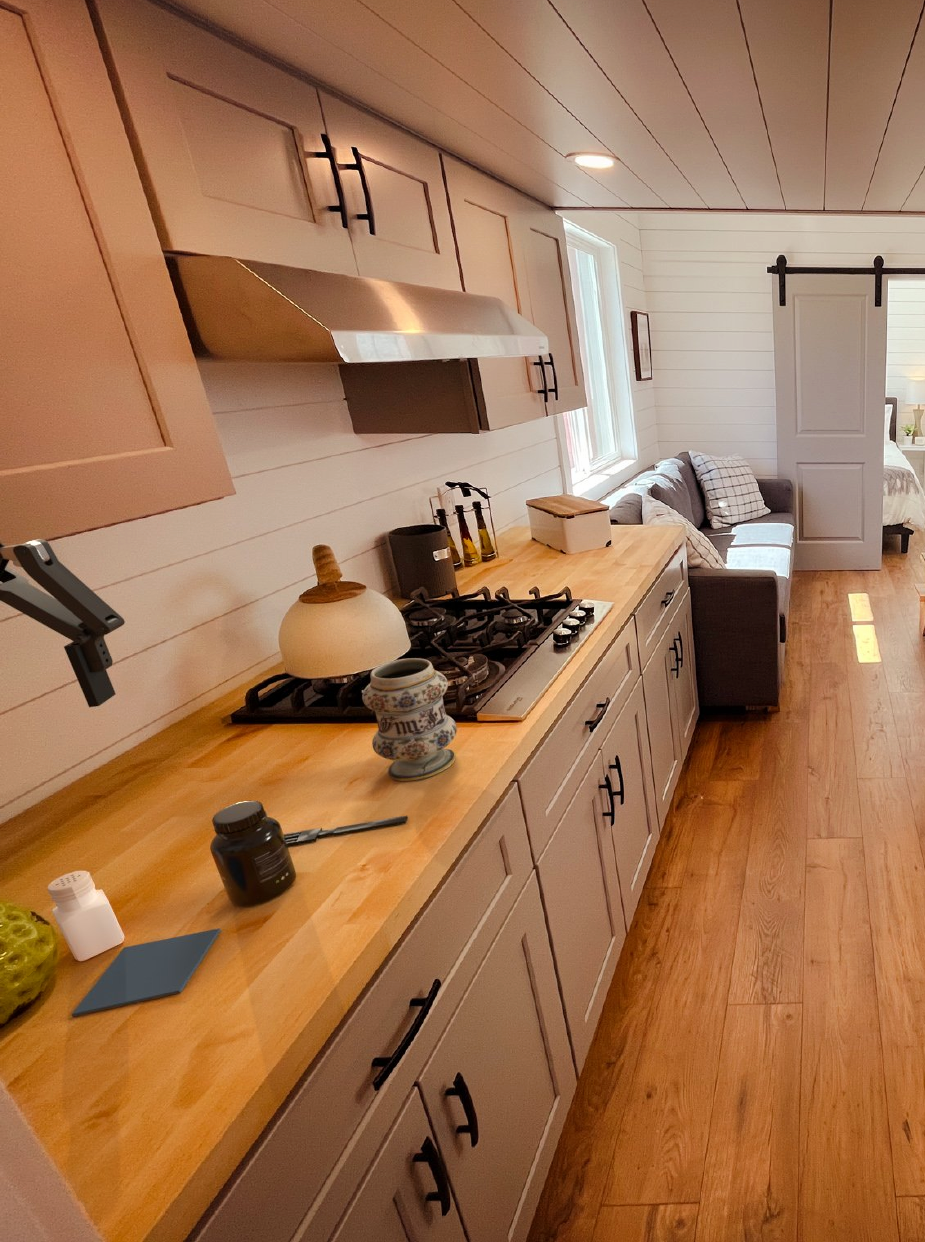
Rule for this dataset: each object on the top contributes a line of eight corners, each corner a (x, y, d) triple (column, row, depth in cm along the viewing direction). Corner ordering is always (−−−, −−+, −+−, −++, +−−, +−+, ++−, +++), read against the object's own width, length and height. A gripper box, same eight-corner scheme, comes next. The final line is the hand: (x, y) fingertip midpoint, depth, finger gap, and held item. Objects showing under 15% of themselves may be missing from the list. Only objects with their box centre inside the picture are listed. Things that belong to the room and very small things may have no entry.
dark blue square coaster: (72, 1017, 70) (70, 1014, 70) (125, 949, 78) (124, 947, 78) (180, 993, 73) (179, 990, 72) (220, 930, 81) (219, 928, 80)
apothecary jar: (479, 751, 118) (460, 657, 112) (423, 790, 107) (399, 689, 101) (421, 741, 121) (400, 649, 115) (362, 779, 110) (335, 679, 104)
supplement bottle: (215, 905, 84) (183, 826, 80) (265, 867, 91) (239, 792, 86) (263, 911, 83) (234, 831, 79) (311, 873, 90) (286, 797, 86)
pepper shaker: (119, 926, 81) (89, 862, 78) (127, 942, 79) (97, 877, 75) (70, 948, 78) (38, 883, 75) (78, 965, 76) (44, 898, 72)
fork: (265, 850, 94) (264, 847, 94) (272, 838, 96) (271, 835, 96) (404, 826, 99) (404, 823, 99) (408, 815, 101) (408, 812, 101)
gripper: (122, 480, 66) (192, 677, 73) (-249, 492, 58) (-128, 711, 65) (69, 493, 59) (152, 709, 66) (-357, 509, 51) (-210, 751, 59)
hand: (13, 711), depth 66 cm, fingers open, 13 cm apart
